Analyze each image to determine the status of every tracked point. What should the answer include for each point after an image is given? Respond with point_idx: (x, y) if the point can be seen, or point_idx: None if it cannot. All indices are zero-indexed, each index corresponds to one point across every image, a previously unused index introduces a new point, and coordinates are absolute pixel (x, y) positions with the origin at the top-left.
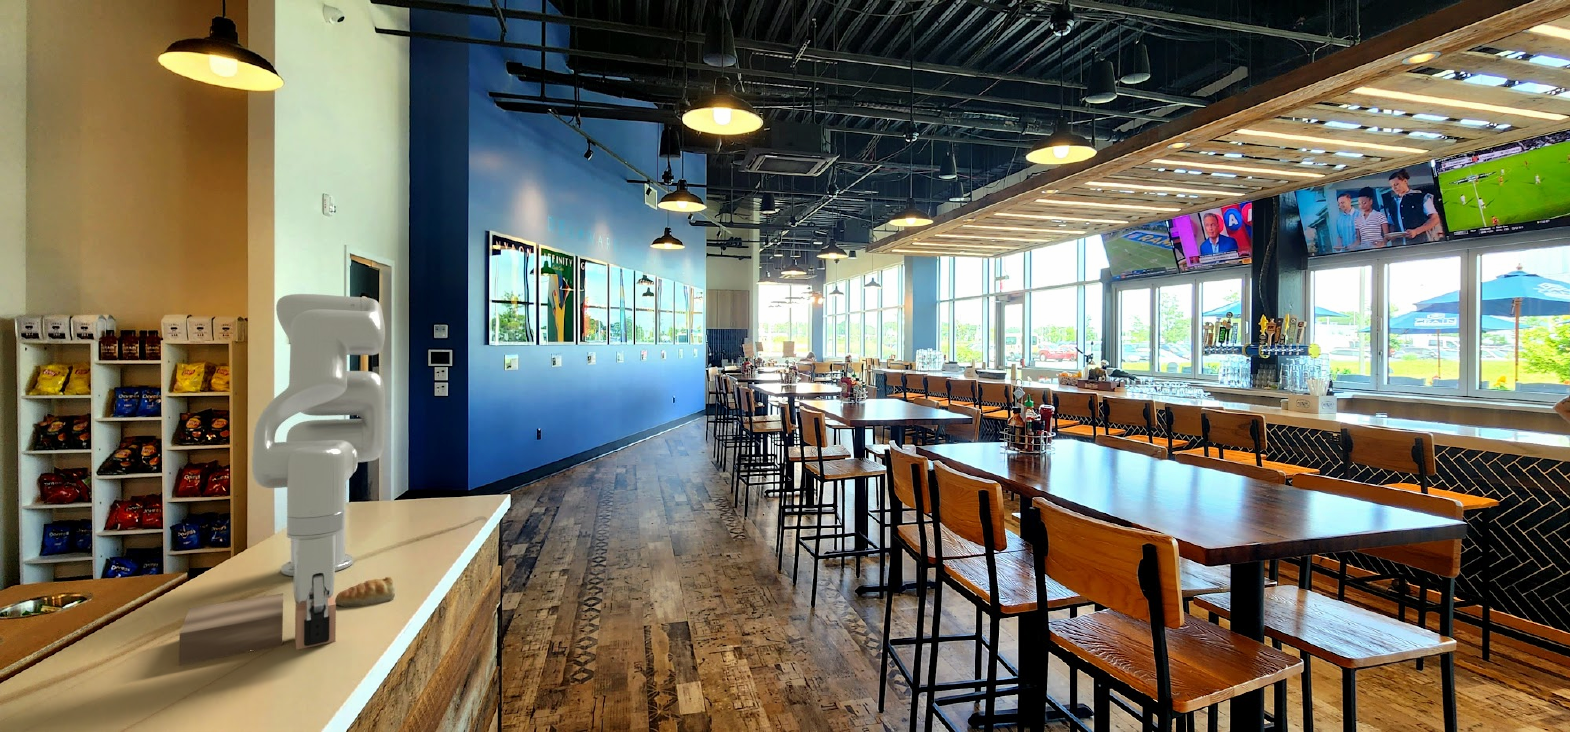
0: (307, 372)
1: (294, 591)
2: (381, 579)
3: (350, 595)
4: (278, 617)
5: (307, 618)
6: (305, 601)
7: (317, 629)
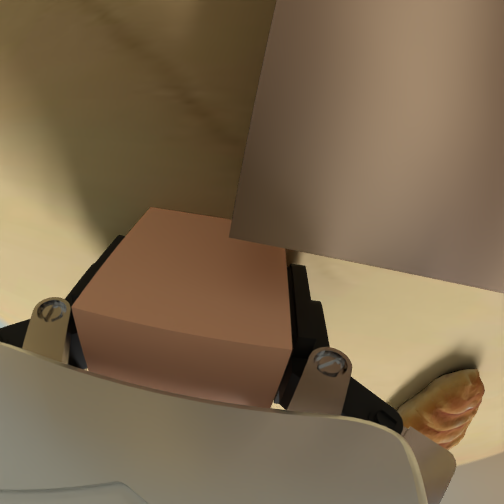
0: None
1: (20, 411)
2: None
3: (432, 412)
4: (236, 212)
5: (36, 308)
6: (251, 381)
7: None
